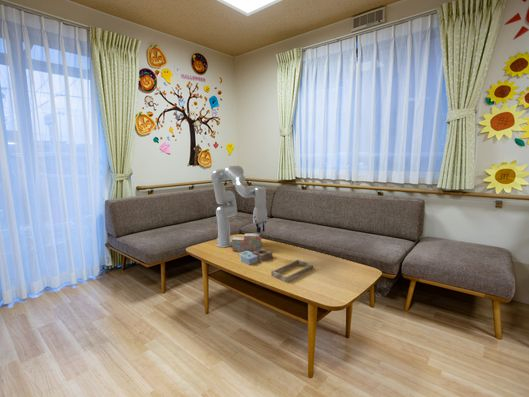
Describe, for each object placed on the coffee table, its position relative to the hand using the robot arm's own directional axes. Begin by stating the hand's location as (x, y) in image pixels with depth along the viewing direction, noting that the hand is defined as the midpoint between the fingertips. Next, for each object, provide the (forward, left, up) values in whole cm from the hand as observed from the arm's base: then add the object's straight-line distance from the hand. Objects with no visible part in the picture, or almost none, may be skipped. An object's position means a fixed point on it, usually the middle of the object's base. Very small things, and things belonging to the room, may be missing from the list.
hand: (260, 231), depth 190 cm
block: (-1, -10, -19) cm, 22 cm away
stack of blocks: (-19, +4, -19) cm, 27 cm away
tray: (-10, -5, -19) cm, 22 cm away
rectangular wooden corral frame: (+31, -3, -19) cm, 37 cm away
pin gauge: (0, 0, -3) cm, 3 cm away
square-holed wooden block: (0, +1, -19) cm, 19 cm away
